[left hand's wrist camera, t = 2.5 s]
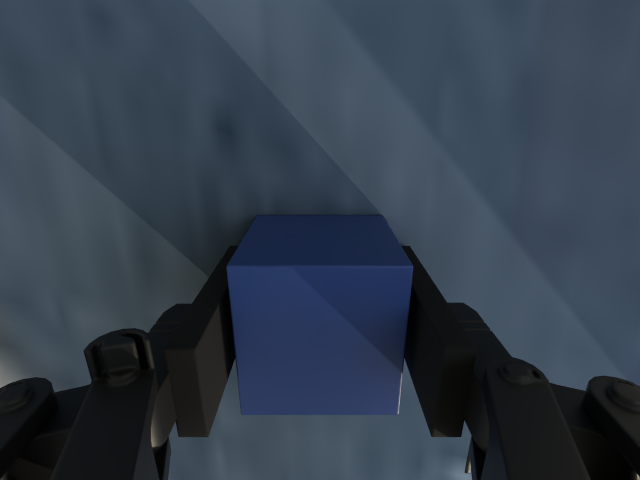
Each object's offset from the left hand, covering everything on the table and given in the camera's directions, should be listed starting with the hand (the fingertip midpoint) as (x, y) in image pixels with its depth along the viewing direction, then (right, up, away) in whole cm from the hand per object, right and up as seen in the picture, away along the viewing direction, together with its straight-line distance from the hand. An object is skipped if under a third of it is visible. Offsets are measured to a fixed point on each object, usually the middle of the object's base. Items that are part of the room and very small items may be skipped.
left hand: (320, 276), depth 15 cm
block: (0, 0, 0) cm, 0 cm away
